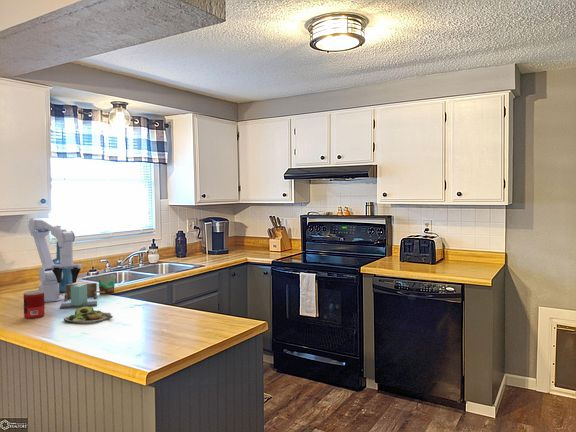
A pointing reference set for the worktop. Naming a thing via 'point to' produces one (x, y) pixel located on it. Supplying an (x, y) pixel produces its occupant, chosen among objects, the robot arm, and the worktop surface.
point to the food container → (107, 284)
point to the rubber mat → (68, 305)
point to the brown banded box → (90, 290)
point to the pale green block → (78, 294)
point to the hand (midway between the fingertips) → (66, 282)
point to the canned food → (34, 304)
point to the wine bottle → (66, 272)
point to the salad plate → (87, 316)
